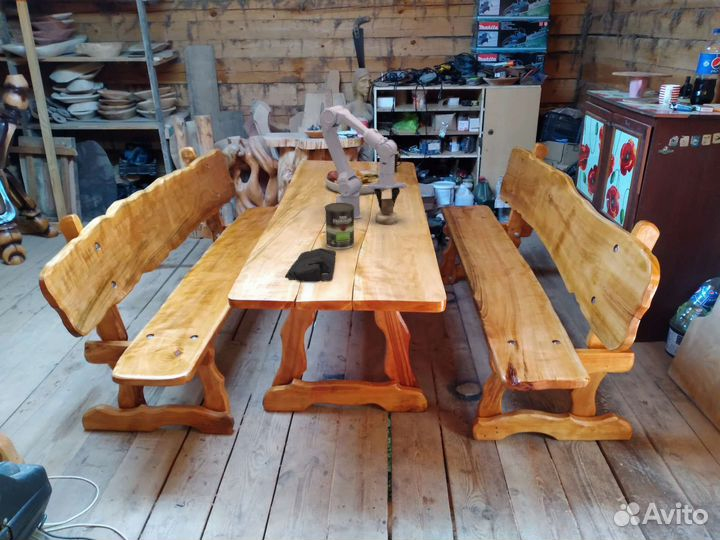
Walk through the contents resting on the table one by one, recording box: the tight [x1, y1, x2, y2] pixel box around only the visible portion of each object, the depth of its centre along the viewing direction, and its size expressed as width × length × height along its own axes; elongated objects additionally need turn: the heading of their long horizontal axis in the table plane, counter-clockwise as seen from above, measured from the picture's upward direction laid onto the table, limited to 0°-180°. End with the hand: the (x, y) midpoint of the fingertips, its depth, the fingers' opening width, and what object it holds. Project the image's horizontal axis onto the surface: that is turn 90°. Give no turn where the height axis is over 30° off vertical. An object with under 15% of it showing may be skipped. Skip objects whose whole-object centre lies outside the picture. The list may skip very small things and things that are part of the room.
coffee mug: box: [392, 150, 403, 173], centre depth 290 cm, size 12×9×10 cm
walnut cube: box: [379, 197, 395, 213], centre depth 217 cm, size 4×4×4 cm
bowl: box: [325, 169, 383, 195], centre depth 265 cm, size 30×30×8 cm
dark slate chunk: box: [284, 247, 337, 283], centre depth 180 cm, size 15×22×5 cm
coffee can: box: [324, 202, 355, 250], centre depth 196 cm, size 10×10×14 cm
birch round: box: [375, 210, 398, 226], centre depth 220 cm, size 8×8×4 cm
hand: (386, 206), depth 218 cm, fingers closed on walnut cube, 4 cm apart
